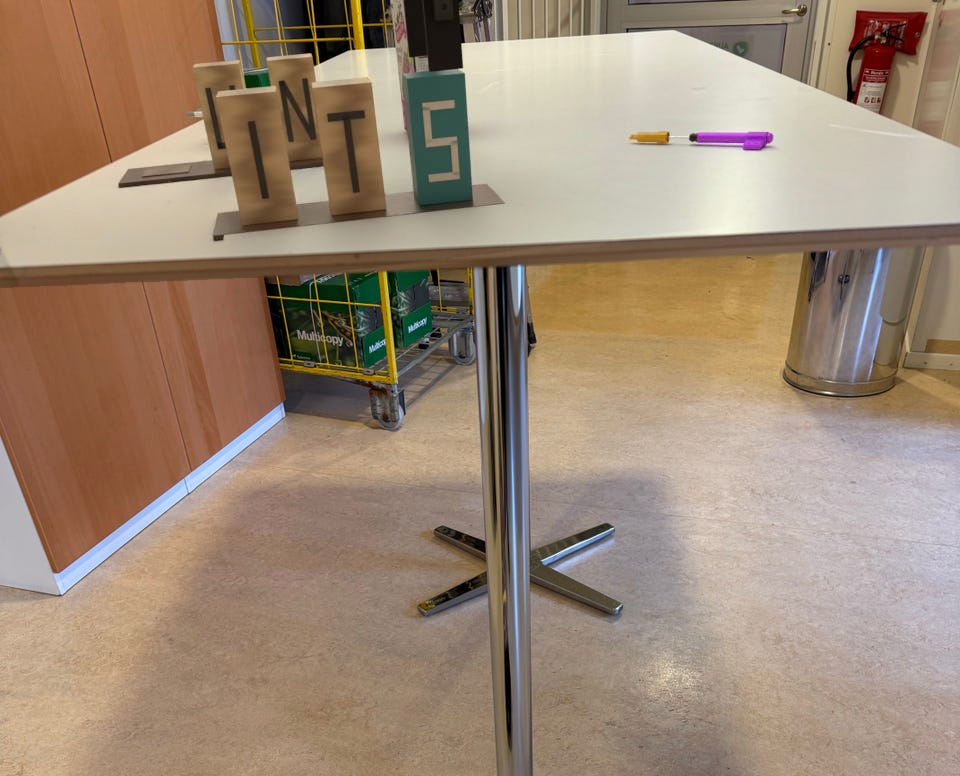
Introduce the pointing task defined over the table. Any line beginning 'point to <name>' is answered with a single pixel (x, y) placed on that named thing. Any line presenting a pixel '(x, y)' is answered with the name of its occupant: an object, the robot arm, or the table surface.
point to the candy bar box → (404, 49)
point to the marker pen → (710, 138)
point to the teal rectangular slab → (438, 136)
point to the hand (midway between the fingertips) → (434, 62)
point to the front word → (344, 154)
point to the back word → (210, 78)
